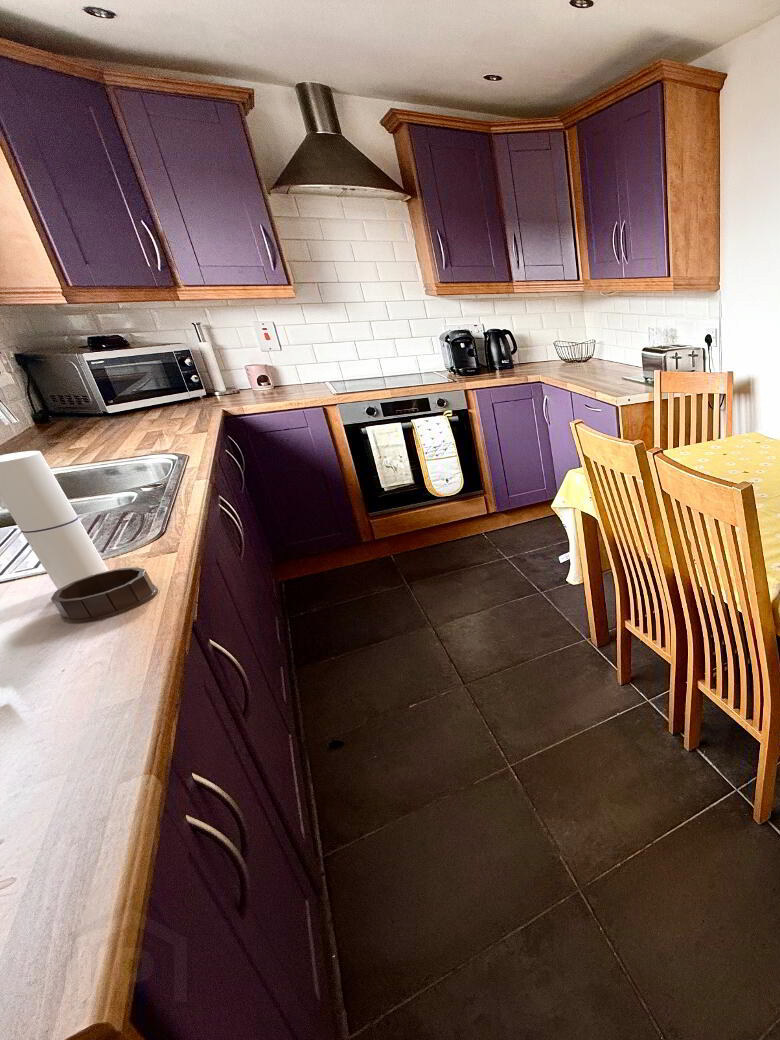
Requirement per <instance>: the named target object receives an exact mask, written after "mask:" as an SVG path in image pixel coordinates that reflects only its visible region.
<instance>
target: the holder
mask: <svg viewBox="0 0 780 1040" xmlns="http://www.w3.org/2000/svg"><path fill="white" fill-rule="evenodd" d="M158 592H159V588H158V587H157V585H156V584H154V583H153V582H152V579H151V578H150V576H149V574H148V572H147V569H145V568H141V567H137V566H133V567H121V568H115V569H110V570H108V571H106V572H102V573H98V574H95V575H91V576H88V577H85V578H83V579H80V580H77V581H74V582H72V583H70V584H68V585H66V586H64V587H63V588H61V589H59V590H58V589H56V591H54V593H53V594H52V596H51V597H50V600H51V601H52V603H53V605H54V606H55V607H56V609H57V611H58V612H59V614H60V615H59V618H60V620H61V621H62V620H63V621H62V622H63V623H66V622H67V624H85V623H90V622H95V621H100V620H105V619H108V618H111V617H113V616H117V615H121V614H124V613H126V612H128V611H131V610H133V609H136V608H138V607H140V606H142V605H144V604H145V603H147V602H148V601H149V602H150V600H152V599H153V598H154V597H156V595H157V594H158Z"/></svg>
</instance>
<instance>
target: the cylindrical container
mask: <svg viewBox="0 0 780 1040" xmlns="http://www.w3.org/2000/svg"><path fill="white" fill-rule="evenodd" d="M0 501H2V503H3V505H4V506H5V508H6V509H7V511H8V512H9V514H10V516H11V518H12V519H13V521H14V523H15V524H16V525H17V527H18V528H19V530H20V531H21V534H22V535H23V537H24V538H25V540H26V542H27V543H28V545H29V546H30V548H31V550H32V551H33V553H34V554H35V556H36V557H37V559H38V561H39V562H40V564H41V565H42V567H43V569H44V571H45V572H46V573H47V575H48V577H49V578H50V580H51V582H52V583H53V585H54V586H55V588H56V590H59V589H61V588H63V587H64V586H66V585H68V584H70V583H72V582H74V581H77V580H80V579H83V578H85V577H88V576H91V575H95V574H98V573H102V572H106V571H109V569H108V567H107V565H106V564H105V562H104V561H103V559H102V558H103V557H101V555H100V553H99V551H98V550H97V547H96V546H95V544H94V543H93V540H92V539H91V537H90V536H89V534H88V532H87V530H86V528H85V527H84V525H83V523H82V521H81V520H80V517H78V515H77V512H76V511H75V509H74V508H73V506H72V504H71V502H70V500H69V498H68V497H67V495H66V494H65V492H64V490H63V489H62V487H61V485H60V483H59V481H58V479H57V478H56V476H55V475H54V473H53V471H52V470H51V468H50V466H49V464H48V462H47V461H46V458H45V457H44V455H43V454H42V452H41V451H40V450H29V451H28V450H27V451H26V450H25V451H18V452H11V453H6V454H1V455H0Z"/></svg>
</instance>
